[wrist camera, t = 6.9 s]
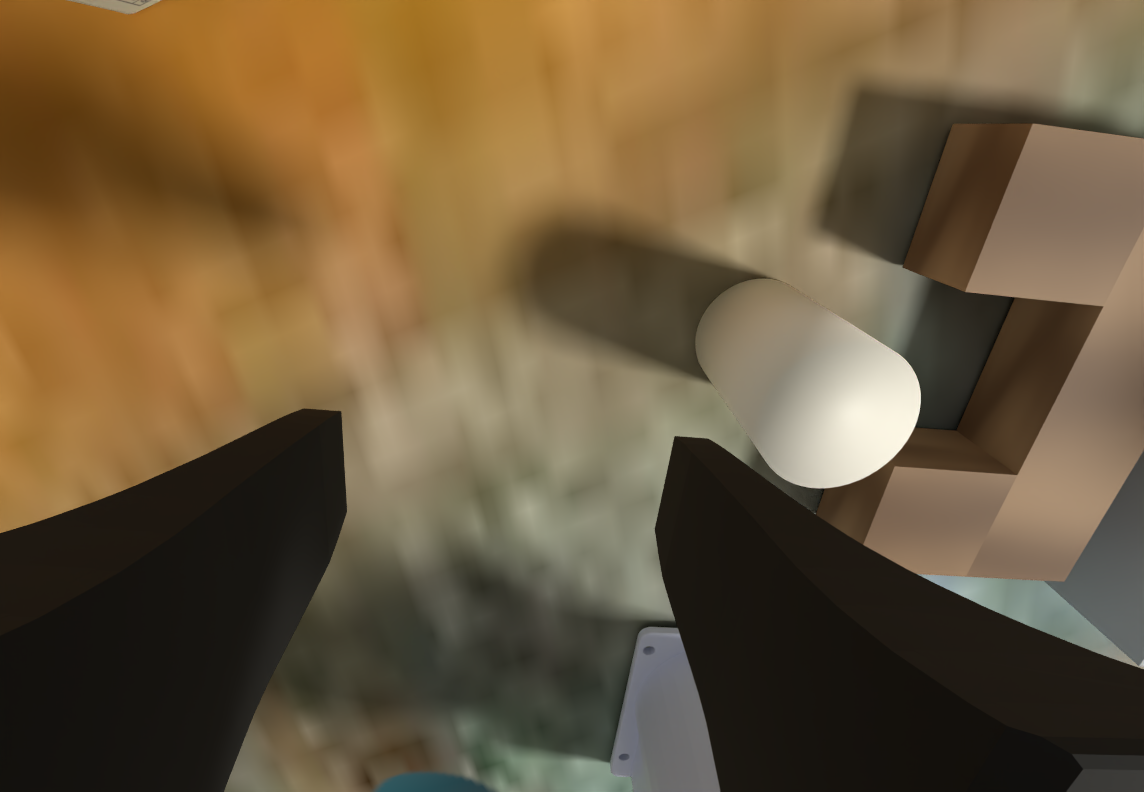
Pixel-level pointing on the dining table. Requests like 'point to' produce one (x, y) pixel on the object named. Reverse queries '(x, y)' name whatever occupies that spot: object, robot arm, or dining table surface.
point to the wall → (1114, 571)
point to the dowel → (806, 384)
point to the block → (1023, 359)
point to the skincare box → (119, 4)
